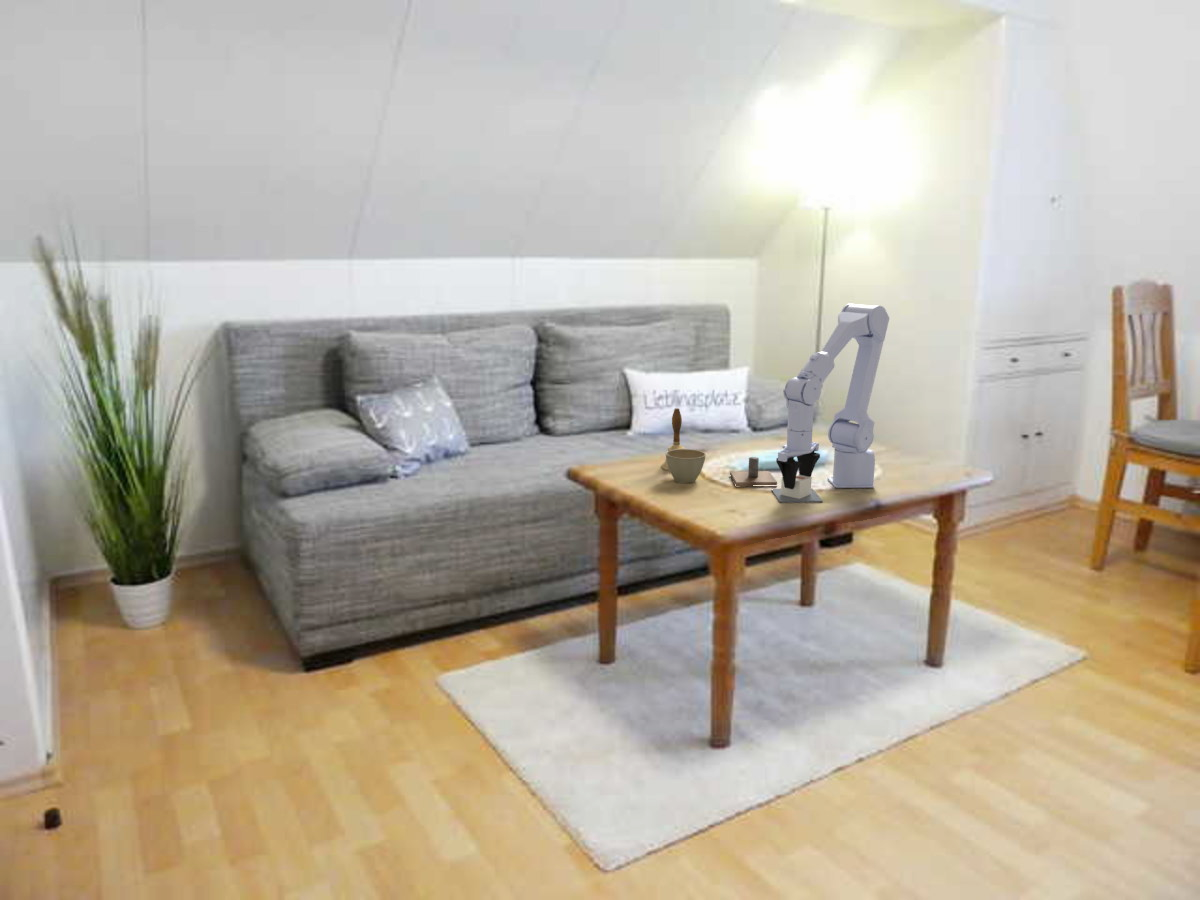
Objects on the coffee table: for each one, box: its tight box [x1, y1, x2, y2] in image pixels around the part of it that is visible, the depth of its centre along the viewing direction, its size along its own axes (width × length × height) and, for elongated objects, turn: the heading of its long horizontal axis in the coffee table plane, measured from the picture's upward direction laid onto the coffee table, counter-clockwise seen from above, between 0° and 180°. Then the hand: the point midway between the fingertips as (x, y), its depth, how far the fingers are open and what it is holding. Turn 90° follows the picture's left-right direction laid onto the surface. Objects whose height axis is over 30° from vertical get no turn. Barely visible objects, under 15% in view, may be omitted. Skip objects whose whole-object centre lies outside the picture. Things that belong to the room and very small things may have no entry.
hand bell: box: [660, 408, 686, 472], centre depth 227 cm, size 8×8×16 cm
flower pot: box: [665, 448, 707, 484], centre depth 216 cm, size 10×10×7 cm
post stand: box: [729, 456, 778, 487], centre depth 215 cm, size 10×10×6 cm
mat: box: [771, 487, 824, 504], centre depth 203 cm, size 10×10×1 cm
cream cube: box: [780, 473, 813, 499], centre depth 203 cm, size 5×5×4 cm
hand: (796, 485), depth 203 cm, fingers open, 6 cm apart
